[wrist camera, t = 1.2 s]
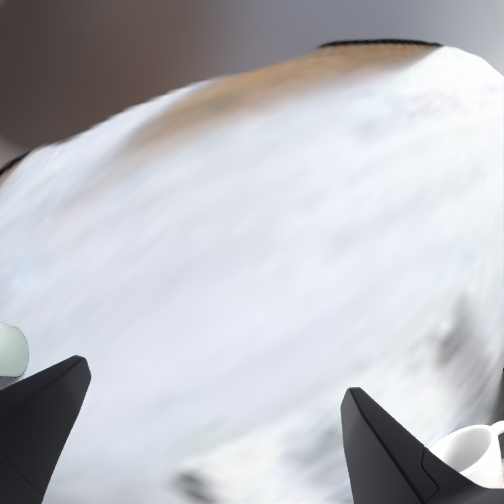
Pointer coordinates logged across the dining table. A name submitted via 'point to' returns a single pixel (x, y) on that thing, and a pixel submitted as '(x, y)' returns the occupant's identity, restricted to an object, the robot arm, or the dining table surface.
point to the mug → (474, 453)
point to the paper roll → (12, 351)
